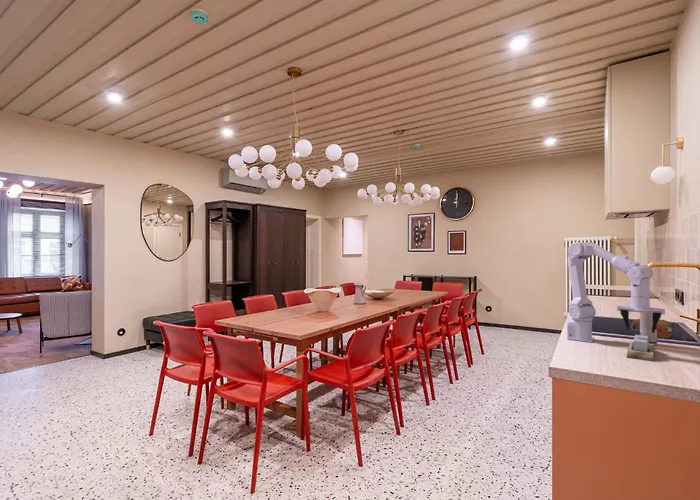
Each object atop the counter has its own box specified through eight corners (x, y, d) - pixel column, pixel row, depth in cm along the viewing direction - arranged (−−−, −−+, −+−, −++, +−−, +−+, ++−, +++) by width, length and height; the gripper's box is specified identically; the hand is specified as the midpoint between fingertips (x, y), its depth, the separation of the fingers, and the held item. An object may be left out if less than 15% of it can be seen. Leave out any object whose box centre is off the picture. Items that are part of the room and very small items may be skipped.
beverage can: (657, 346, 152) (657, 310, 152) (640, 344, 155) (640, 309, 155) (656, 343, 156) (656, 308, 156) (639, 341, 160) (639, 307, 160)
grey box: (633, 353, 139) (633, 340, 139) (635, 347, 148) (635, 334, 148) (647, 355, 136) (647, 342, 136) (647, 348, 145) (647, 336, 145)
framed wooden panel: (626, 357, 138) (626, 350, 138) (629, 347, 151) (629, 341, 151) (654, 361, 132) (654, 354, 132) (654, 350, 146) (654, 344, 146)
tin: (632, 336, 170) (632, 318, 169) (630, 334, 172) (630, 317, 172) (674, 339, 162) (674, 320, 162) (672, 338, 165) (671, 319, 165)
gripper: (616, 295, 143) (616, 330, 144) (664, 298, 134) (665, 335, 134) (617, 294, 149) (618, 327, 149) (664, 296, 139) (664, 332, 140)
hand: (640, 331), depth 142 cm, fingers open, 7 cm apart
